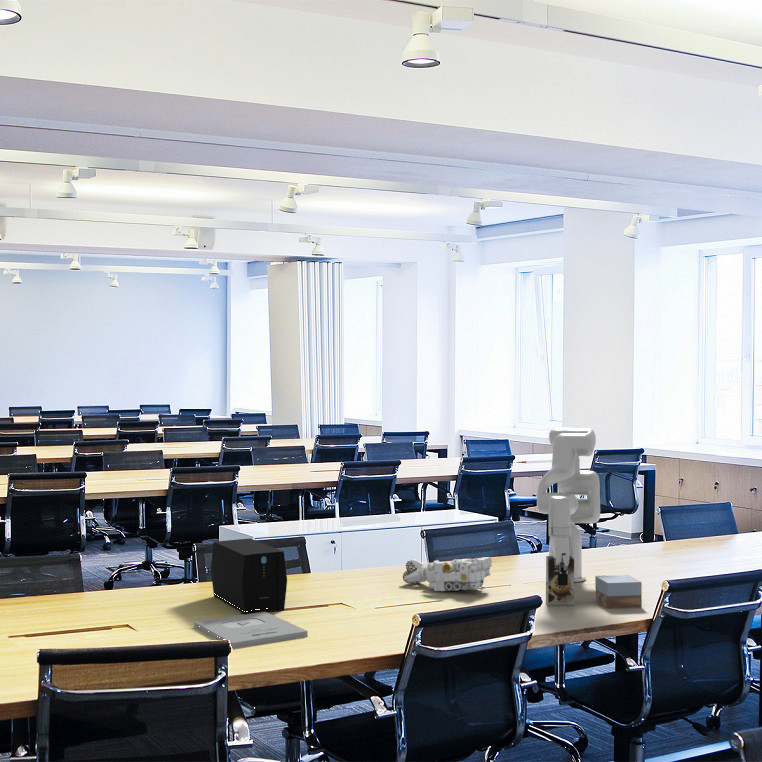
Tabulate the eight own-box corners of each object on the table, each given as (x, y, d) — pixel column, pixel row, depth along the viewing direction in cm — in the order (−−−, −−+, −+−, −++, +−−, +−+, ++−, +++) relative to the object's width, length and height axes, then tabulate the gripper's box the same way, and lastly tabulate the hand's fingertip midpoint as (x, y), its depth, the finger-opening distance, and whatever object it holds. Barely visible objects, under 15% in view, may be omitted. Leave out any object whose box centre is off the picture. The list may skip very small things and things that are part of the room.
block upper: (595, 588, 345) (595, 576, 345) (628, 587, 346) (628, 574, 346) (607, 596, 333) (607, 583, 333) (641, 595, 334) (641, 581, 334)
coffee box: (548, 605, 337) (547, 558, 337) (545, 601, 344) (545, 555, 344) (574, 605, 337) (574, 558, 337) (571, 601, 344) (571, 555, 344)
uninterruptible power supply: (241, 615, 326) (241, 555, 326) (209, 596, 356) (209, 541, 356) (287, 609, 334) (287, 551, 334) (252, 591, 363) (251, 537, 363)
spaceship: (479, 594, 350) (476, 561, 350) (395, 593, 367) (392, 562, 368) (497, 586, 363) (494, 554, 364) (415, 586, 381) (412, 555, 382)
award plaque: (232, 650, 285) (232, 642, 285) (194, 628, 311) (194, 621, 311) (307, 637, 298) (307, 630, 298) (265, 618, 324) (265, 611, 324)
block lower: (596, 601, 345) (595, 588, 345) (628, 600, 346) (628, 587, 346) (607, 609, 333) (607, 596, 333) (641, 608, 334) (641, 595, 334)
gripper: (542, 528, 349) (542, 578, 349) (555, 535, 332) (556, 588, 332) (563, 527, 350) (563, 577, 350) (577, 535, 332) (577, 588, 332)
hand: (559, 582), depth 341 cm, fingers closed on coffee box, 6 cm apart
